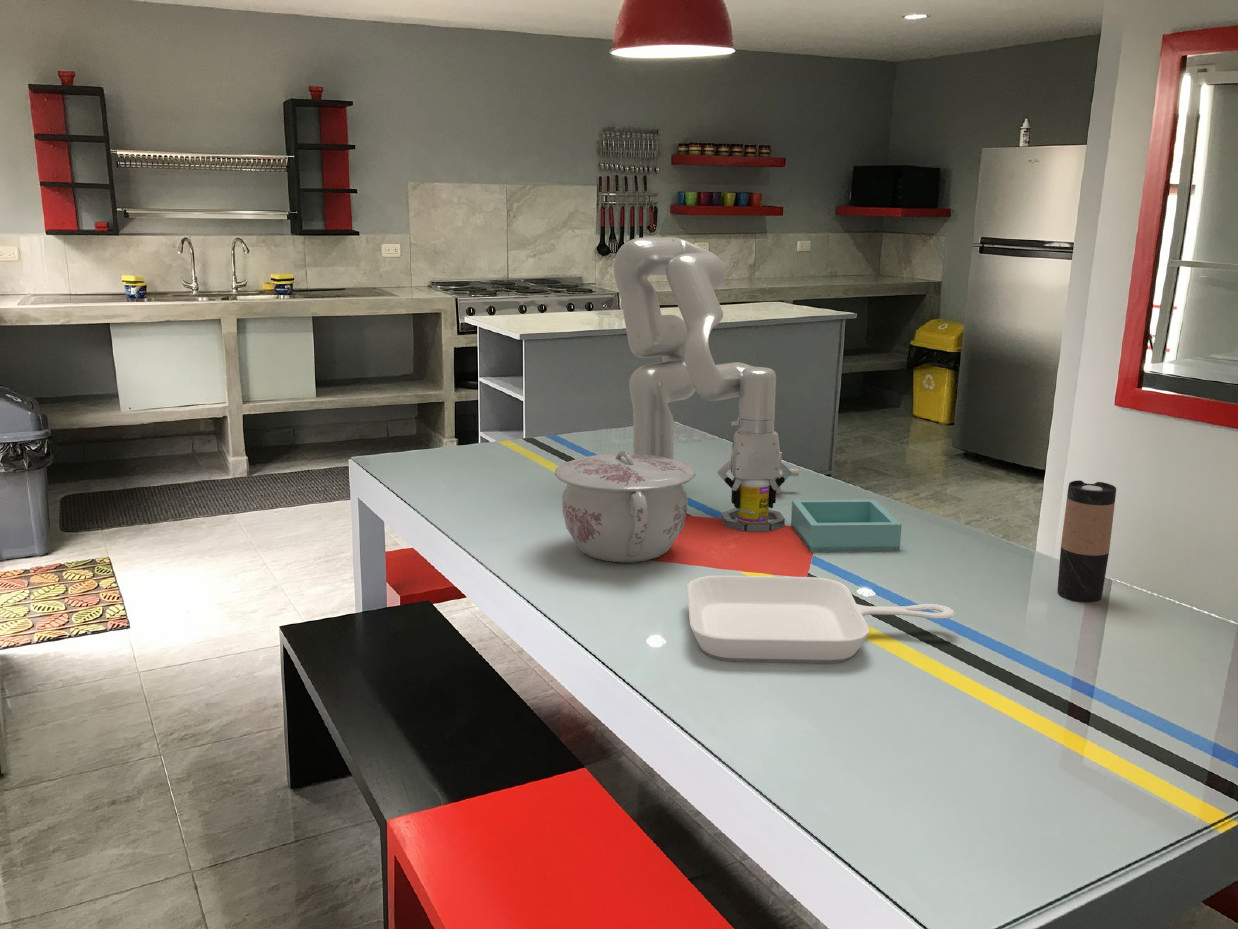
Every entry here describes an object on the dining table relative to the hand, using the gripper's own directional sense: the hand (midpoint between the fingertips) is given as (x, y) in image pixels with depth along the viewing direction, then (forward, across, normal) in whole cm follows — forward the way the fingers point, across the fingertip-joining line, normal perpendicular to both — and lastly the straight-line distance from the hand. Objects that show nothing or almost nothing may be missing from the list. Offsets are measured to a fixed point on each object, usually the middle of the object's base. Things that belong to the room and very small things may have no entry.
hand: (753, 506), depth 216 cm
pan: (+4, 0, -59) cm, 59 cm away
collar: (+4, 0, 0) cm, 4 cm away
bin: (+4, +17, -11) cm, 21 cm away
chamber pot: (+4, -29, -19) cm, 35 cm away
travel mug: (+4, +50, -45) cm, 67 cm away
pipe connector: (+4, +10, +24) cm, 26 cm away
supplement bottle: (+4, 0, 0) cm, 4 cm away
